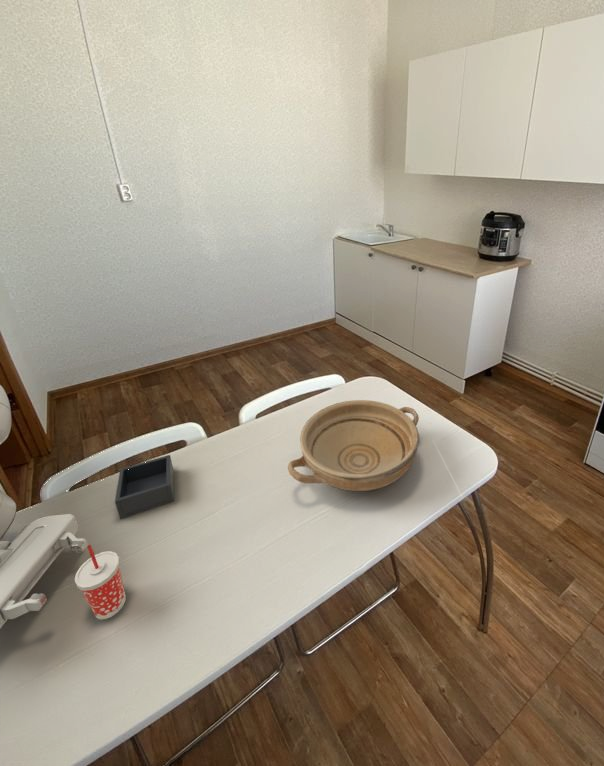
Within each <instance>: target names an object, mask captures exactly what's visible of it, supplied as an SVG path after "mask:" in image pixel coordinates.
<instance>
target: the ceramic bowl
mask: <svg viewBox="0 0 604 766" xmlns="http://www.w3.org/2000/svg"><path fill="white" fill-rule="evenodd" d="M408 414H411V415H412V416H413V419H412V418H411V417H410V416H409V415H408ZM419 420H420V417H419V414H418V412H417V411H416V410H415V409H414V408H412V407H409V406H403V407H400V408H397V407H395V406H393V405H390V404H388V403H385V402H381V401H376V400H369V399H354V400H353V399H352V400H345V401H341V402H337V403H334V404H331V405H328V406H326V407H324V408H322V409H320V410H318V411H317V412H316V413H313V415H312V416H311V417H310V418H309V419H308V420H307V421H306V422H305V424H304V425H303V427H302V429H301V432H300V437H299V444H300V450H301V454H302V455H301V457H300V458H297V459H293V460H291V461H290V462H289V463H288V464H287V471H288V473H289V475H290V476H291V477H292V478H293V479H295V480H296V481H297V482H299V483H301V484H302V483H303V484H308V485H311V484H327V485H329V486H331V487H333V488H336V489H339V490H343V491H349V492H368V491H373V490H375V491H376V490H378V489H382V488H384V487H387V486H388V485H391V484H392V483H395V482H396V481H397V480H398V479H400V478H401V477H402V476H404V475H405V474H406V472H408V471H409V470H410V468H411V466H412V464H413V463H414V461H415V459H416V456H417V452H418V447H419V443H420V435H419V431H418V427H417V426H418V423H419ZM301 467H303V468H308V469H309V470H310V471H311V473H312V474H311V475H309V474H302V473H300V472H299V471H297V470H296V469H295V468H301Z"/></svg>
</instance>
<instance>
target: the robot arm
mask: <svg viewBox="0 0 604 766" xmlns="http://www.w3.org/2000/svg"><path fill="white" fill-rule="evenodd" d="M11 429H12V410H11V403H10V400H9V397H8V394H7V393H6V390H5V389H4V387H3V386H2V385H1V384H0V445H2V444H3V443H5V441H6V440H7V439H8V437H9V435H10V432H11ZM17 511H18V507H17V502H16V500H14V499H13V498H12V497H10V496H9V495H8V494H6V493H5V492H4V491H3V490H1V489H0V629H2V627H3V625H5V623H6V622H7V621H8V620H14V619H17V618H18V617H20V616H23V615H25V614H27V613H29V612H40V611H41V610H42V608H43V606H44V605H45V604H46V602H47V601H48V598H47V597H46V594H45V593H42V592H41V593H38V592H36V593H32V594H31V596H30V597H29V598H27V596H28V595H29V593H30V592H31V591H32V589H33V588H34V587H35V586H36V585H37V583H38V582H39V580H40V579H41V578H42V577H43V575H44V574H45V573H46V572H47V571H48V569H49V568H50V567H51V565H52V564H53V563H54V561H56V559H57V558H58V557H59V555H60V554H61V553H62V551H63V550H64V549H65V548H66V549H68V548H70V549H71V551H72V553H73V554H78V553H79V554H82V553H83V552H84V551H85V549H86V548H88V546H89V543H88V539H86V538H84V537H83V538H82V537H81V538H77V537H76V534H77V533H78V532H79V529H80V528H79V524H78V520H77V519H76V516H75V515H74V514H72V513H65V514H55V515H47V516H43V517H39V518H36V519H34V521H32V522H31V523H28V524H26V525H25V526H24V527H23V528H22V529H21V531H20V532H18V533H17V534H16V536H15V537H13V538H12V540H10V541H7V540H2V539H3V537H4V536H5V535H6V533H7V532H8V531H9V529H10V528H11V526H12V525H13V523H14V521H15V518H16V514H17ZM25 598H27V599H25Z"/></svg>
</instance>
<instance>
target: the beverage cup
mask: <svg viewBox="0 0 604 766" xmlns="http://www.w3.org/2000/svg"><path fill="white" fill-rule="evenodd" d="M87 551H88V552H89V555H90V558H88V559H87V560H85V561H84V562H83V563H82V565H80V566H79V568H78V569H77V571H76V573H75V575H74V582H75V584H76V586H77V589H78V590H81V591H82V594H83V595H84V597H85V599H86V601H87V603H88V605H89V607H90V609H91V611H92V612H93V615H94V616H95V618H96V619H97V620H101V621H102V620H107V619H110V618H112V617H114V616H115V615H116V614H117V613H119V612H120V610H121V609H122V608H123V607H124V605H125V602H126V598H127V596H126V592H125V587H124V582H123V578H122V573H121V569H120V562H121V561H120V557H119V556H118V554H117V553H116V552H114V551H111V550H109V551H108V550H107V551H102V552H99V553H96V554H95V553H94V550H93V547H92V545H91V544H88V545H87Z"/></svg>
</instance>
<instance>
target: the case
mask: <svg viewBox="0 0 604 766" xmlns="http://www.w3.org/2000/svg"><path fill="white" fill-rule="evenodd" d="M145 462H146V463H145ZM128 469H129V470H128ZM117 480H118V481H117V487H116V493H115V499H114V504H115V507H116V510H117V512H118V516H119V519H120V520H123V519H125V518H128V517H131V516H134V515H137V514H141V513H143V512H146V511H150V510H153V509H156V508H160V507H162V506H165V505H168V504H172V503H174V502H175V470H174V465H173V461H172V457H171V454H168V455H167V454H166V455H164V456H161V457H157V458H154V459H150V460H147V461H146V460H145V461H143V462H140V463H136V464H132V465H129V466H124V467H121V468H119V474H118V479H117Z"/></svg>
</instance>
